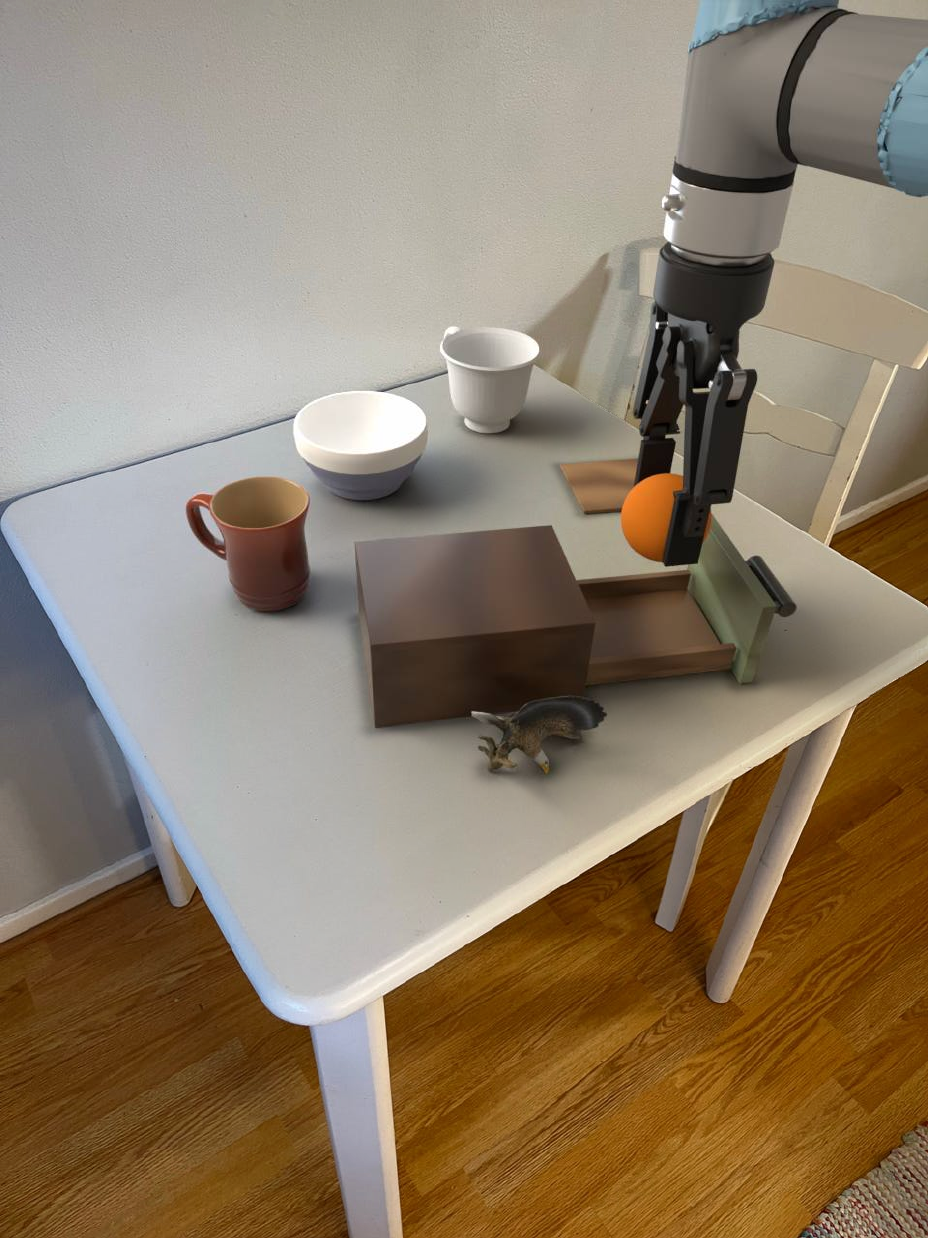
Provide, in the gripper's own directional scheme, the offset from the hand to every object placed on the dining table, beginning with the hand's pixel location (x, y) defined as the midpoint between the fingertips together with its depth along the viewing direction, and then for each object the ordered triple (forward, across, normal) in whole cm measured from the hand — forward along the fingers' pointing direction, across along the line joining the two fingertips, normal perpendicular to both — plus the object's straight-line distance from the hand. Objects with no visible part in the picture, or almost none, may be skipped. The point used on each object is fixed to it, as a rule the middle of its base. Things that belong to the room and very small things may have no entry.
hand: (662, 534), depth 74 cm
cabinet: (+12, 0, -16) cm, 20 cm away
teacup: (+12, -44, -6) cm, 46 cm away
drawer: (+12, 0, +1) cm, 12 cm away
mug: (+12, -13, -34) cm, 39 cm away
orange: (+2, 0, 0) cm, 2 cm away
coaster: (+12, -26, +6) cm, 29 cm away
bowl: (+12, -31, -22) cm, 40 cm away
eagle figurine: (+12, +11, -13) cm, 21 cm away
